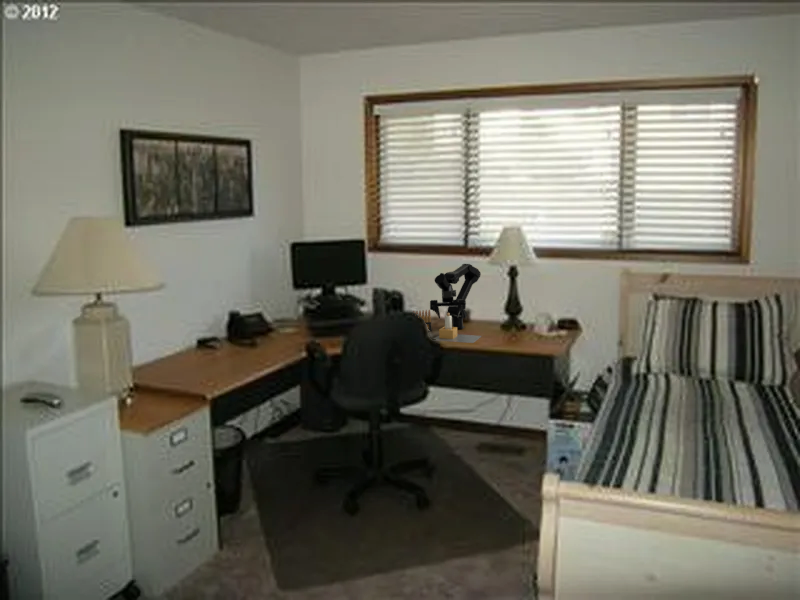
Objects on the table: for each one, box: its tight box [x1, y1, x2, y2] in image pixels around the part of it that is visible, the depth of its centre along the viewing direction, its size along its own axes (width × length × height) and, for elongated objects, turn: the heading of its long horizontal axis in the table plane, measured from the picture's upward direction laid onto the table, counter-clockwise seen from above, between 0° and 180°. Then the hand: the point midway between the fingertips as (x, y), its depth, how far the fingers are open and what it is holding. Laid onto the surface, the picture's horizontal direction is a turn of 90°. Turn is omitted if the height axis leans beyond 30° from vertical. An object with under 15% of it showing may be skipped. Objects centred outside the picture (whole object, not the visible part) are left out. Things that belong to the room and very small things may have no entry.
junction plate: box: [433, 326, 482, 344], centre depth 360 cm, size 16×22×6 cm
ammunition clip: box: [412, 309, 433, 332], centre depth 380 cm, size 11×2×12 cm, turn 107°
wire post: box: [444, 312, 453, 330], centre depth 362 cm, size 4×4×12 cm
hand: (448, 318), depth 364 cm, fingers open, 9 cm apart
